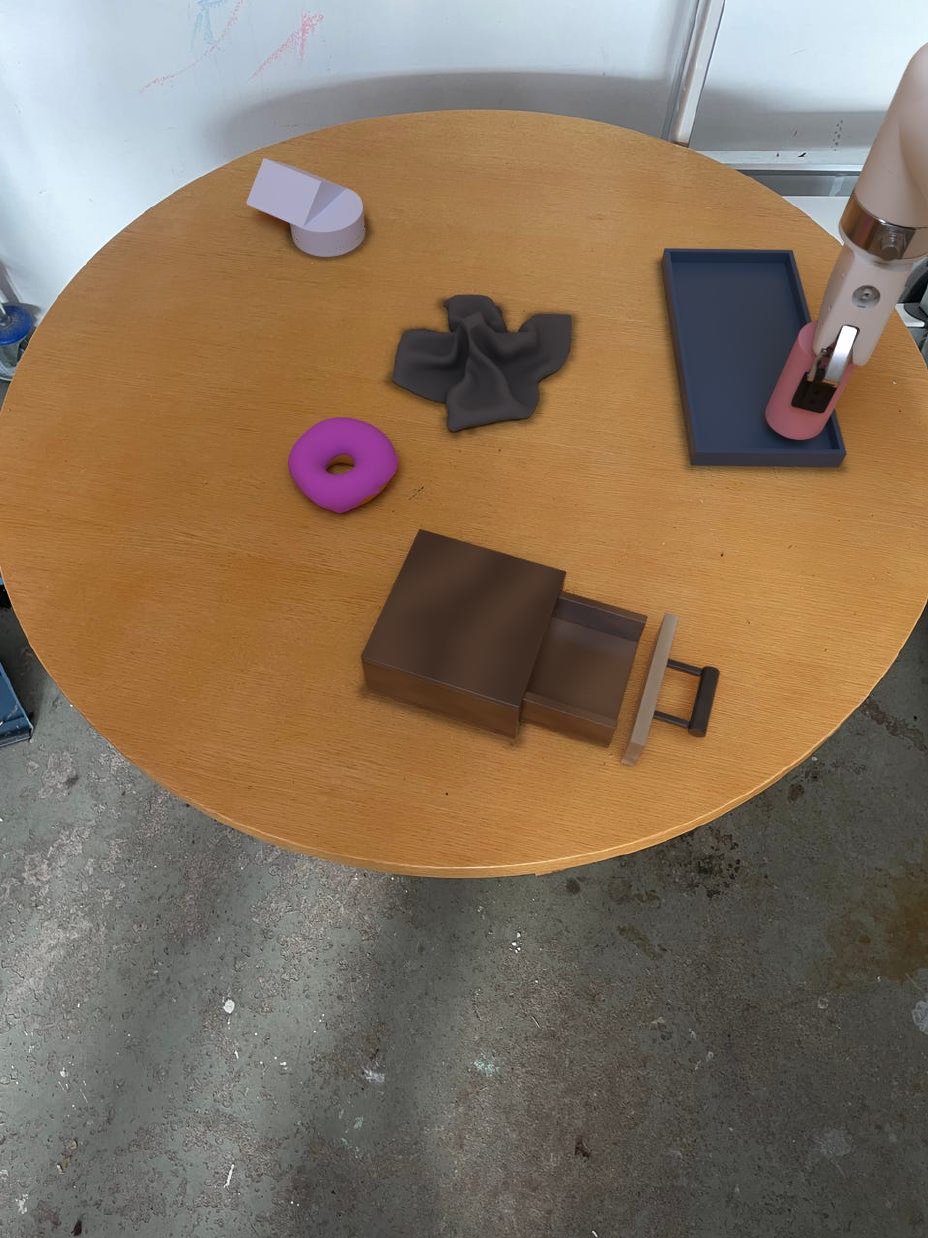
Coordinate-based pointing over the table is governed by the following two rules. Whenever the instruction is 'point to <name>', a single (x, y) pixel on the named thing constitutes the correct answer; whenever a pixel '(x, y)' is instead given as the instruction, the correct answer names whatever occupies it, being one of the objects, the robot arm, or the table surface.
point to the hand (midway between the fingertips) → (812, 382)
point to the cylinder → (779, 407)
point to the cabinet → (462, 631)
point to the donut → (342, 445)
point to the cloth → (482, 361)
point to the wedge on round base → (310, 208)
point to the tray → (739, 354)
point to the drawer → (606, 676)
